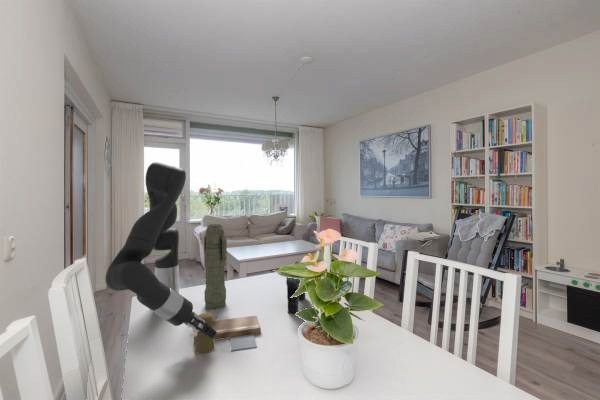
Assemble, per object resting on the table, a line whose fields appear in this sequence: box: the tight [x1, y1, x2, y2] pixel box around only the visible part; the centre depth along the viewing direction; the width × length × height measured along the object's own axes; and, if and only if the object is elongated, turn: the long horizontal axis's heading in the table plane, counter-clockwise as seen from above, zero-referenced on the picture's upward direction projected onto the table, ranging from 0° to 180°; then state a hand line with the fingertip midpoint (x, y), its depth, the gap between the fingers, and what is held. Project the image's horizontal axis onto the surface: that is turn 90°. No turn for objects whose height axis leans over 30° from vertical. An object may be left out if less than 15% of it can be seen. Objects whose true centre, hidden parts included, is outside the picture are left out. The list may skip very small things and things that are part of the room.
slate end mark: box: [229, 334, 258, 352], centre depth 96 cm, size 8×8×1 cm
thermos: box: [203, 223, 228, 310], centre depth 125 cm, size 9×12×35 cm
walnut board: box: [193, 315, 262, 343], centre depth 104 cm, size 22×10×2 cm, turn 107°
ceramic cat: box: [285, 261, 306, 315], centre depth 125 cm, size 20×6×20 cm, turn 165°
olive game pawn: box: [194, 312, 216, 355], centre depth 92 cm, size 6×6×11 cm
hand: (210, 331), depth 94 cm, fingers closed on olive game pawn, 4 cm apart
